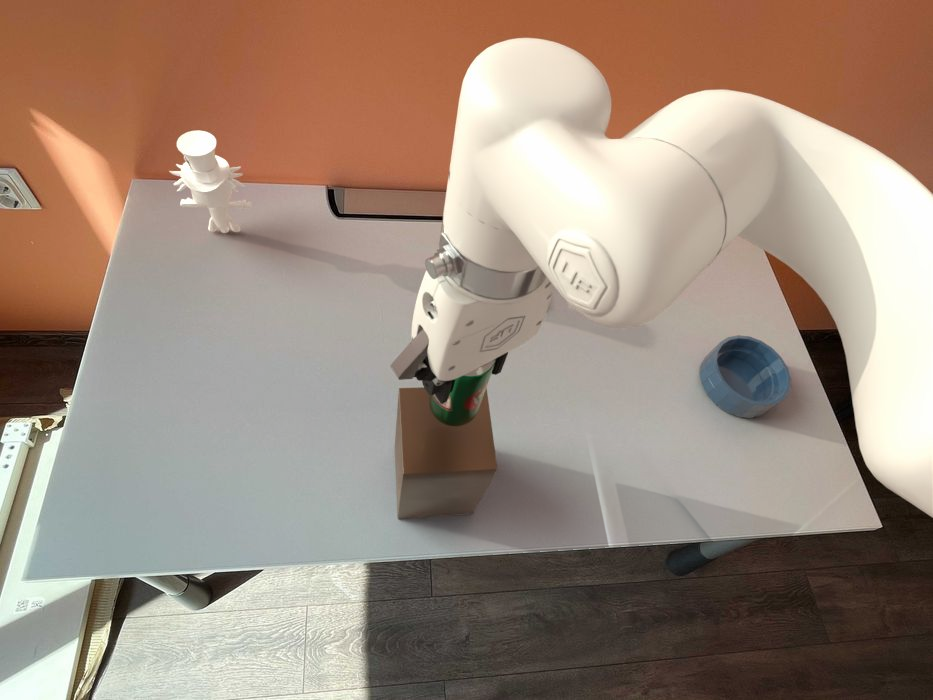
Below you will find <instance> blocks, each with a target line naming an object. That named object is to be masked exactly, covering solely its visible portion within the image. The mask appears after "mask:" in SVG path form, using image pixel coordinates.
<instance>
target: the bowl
mask: <svg viewBox="0 0 933 700" xmlns="http://www.w3.org/2000/svg"><path fill="white" fill-rule="evenodd" d="M699 378H700V383H701V385H702V388H703V389H704V392H705V393H706V395H707V397H708V398H709V399H710V400H711V401H712V402H713V403H714V404H715V405H716V406H717V407H719V408H720V409H721V410H723V411H725V412H726V413H728V414H731V415H733V416H735V417H739V418H749V419H752V418H756V417H761V416H763V415H764V414H765V413H767V412H768V411H769V410H771V409H773V408H774V407H775V406H777V405H778V404H779V403H780V402H782V401H783V400H785V399H786V398H787V396H788V394H789V392H790V391H791V381H792V378H791V374H790V371H789V368H788V365H786V363H785V361H784V359H783V357H782V356H781V355H780V354H779V353H778V352H777V351H776V350H775V349H774V348H773V347H772V346H770V345H769V344H767V343H765V341H763V340H760V339H758V338H755V337H752V336H750V335H749V336H748V335H732V336H727V337H726V338H724V339H723V340H721V341H720V342H718V344H716V346H715V347H713V348H712V350H711V351H710V352H709V353H708V354H706V356H705V357H704V359H702V362H701V364H700V368H699Z"/></svg>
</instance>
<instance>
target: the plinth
mask: <svg viewBox="0 0 933 700" xmlns="http://www.w3.org/2000/svg"><path fill="white" fill-rule="evenodd" d="M487 388H488V387H487ZM487 388H486V390H485V393H484V396H483V399H482V401H481V404H480V407H479V410H478V412H477V415H476V416H475V418H474V419H473V420H472V421H470V422H469V423H467V424H465V425H462V426H449V425H445V424H443V423H441V422H440V421H438V420H437V419H436V418H435V417H434V415H433V414H432V412H431V410H430V406H429V399H430V395H429V394H428V392H427V391H426V390H425V388H424V386H423V387H422V386H421V387H398V393H397V394H398V395H397V410H396V420H395V433H394V434H395V435H394V465H395V467H394V468H395V486H396V487H395V490H396V493H395V494H396V514H397V515H396V517H397V520H402V519H418V518H432V517H433V518H434V517H446V516H461V515H473V514H474V513H475V511H476V510H477V507H478V506H479V503H480V502H481V500H482V498H483V497H484V495H485V492H486V491H487V489H488V487H489V486H490V484H491V482H492V480H493V478H494V476H495V474H496V473H497V471H498V463H497V462H498V461H497V455H496V448H495V440H494V434H493V425H492V417H491V411H490V402H489V396H488V389H487Z"/></svg>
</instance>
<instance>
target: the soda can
mask: <svg viewBox="0 0 933 700" xmlns="http://www.w3.org/2000/svg"><path fill="white" fill-rule="evenodd" d="M496 359H497V358H496ZM496 359H494V360H492V361H490V362H488V363H486V364H484V365H482V366H481V367H479V368H477V369H475V370H473V371H471V372H469V373H467V374H465V375H463V376H461V377H459V378H456V379H454V380H452V386H451V390H450V394H449V398H448V400H447V402H445V403H443V404H441V403H440V402H439V400H438V399H437V397H436V396H435V394H434V395H432V396H430V399H429V406H430V410H431V412H432V414H433V415H434V417H435V418H436V419H437V420H438V421H440V422H441V423H443V424H445V425H449V426H462V425H465V424H467V423H469V422H470V421H472V420H473V419H474V418H475V416H476V415H477V412H478V410H479V407H480V404H481V401H482V399H483V396H484V393H485V390H486V388H488V384H489V382H490V379H491V377H492V375H493V374H492V371H493V368H494V365H495V362H496Z"/></svg>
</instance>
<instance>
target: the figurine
mask: <svg viewBox="0 0 933 700" xmlns="http://www.w3.org/2000/svg"><path fill="white" fill-rule="evenodd" d="M176 148H177V151H179V152H180V154H182V156H183V160H184V162H183V163H182V164H179V163H176V164H175V166H176V167H177V168H179V169H180V170H175V171H174V170H168V172H169V173H170V174H171V175H173V176H176V177H180V178H179V179H178V180H177V181H175V182H174V183H173V186H174V187H179V188H178V189H177V190H176V192H178V193H179V192H182V191H183V190H185V189H186V188H189V189H190V193H191V197H192V198H190V197H187V198H186V199H184V198H181V200H180V202H179V206H180V207H181V208H189V209H193V208H207V209H208V211H209V214H210V218H209V221H208V228H207V229H208V231H209V232H212V233H214V232H217V231H218V230H220V232H221V233H222V234H228V233H229V231H230V230H231V231H232V232H234V233H239V232H241V230H242V229H241V228H240V226H239V224H238V223H237V222H236V221H235V220H234V219H233V217H231V216H230V213H229V209H236V210H251V209H252V206H253V205H252V201H248V200H247V199H246V198H245V199H242V200H233V201H231V200H232V196H233V192H234V193H235V194H240V193H239V191H238V190H237V189H236V188H237V186H238V187H241V188H244V187H246V185H245V184H244V183H242V182H241V181H240V180H237V179H236V178H240V177H241V176H242V177H243V175H244V173H242V172H240V173H239V172H237V171H240V169H242V166H241V165H240V166H232V167H231V166H230V164H229V162H228V161H227V160H226V159H225V158H223V157H221V156H219V155H216V148H217V139H216V137H215V135H213V134H212V133H211V132H208V131H205V130H199V129H198V130H197V129H196V130H190V131H187V132H185V133H183V134H181V135H180V136H179V137H178V138H177V140H176ZM228 208H229V209H228Z"/></svg>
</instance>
